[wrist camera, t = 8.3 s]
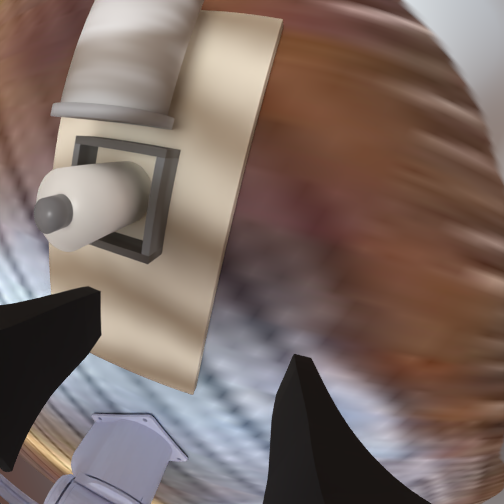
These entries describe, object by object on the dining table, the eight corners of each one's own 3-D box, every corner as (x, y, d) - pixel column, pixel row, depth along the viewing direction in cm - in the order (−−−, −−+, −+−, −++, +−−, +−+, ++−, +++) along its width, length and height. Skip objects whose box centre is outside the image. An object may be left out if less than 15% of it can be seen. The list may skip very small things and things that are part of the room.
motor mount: (196, 387, 22) (167, 454, 15) (62, 329, 23) (14, 371, 16) (283, 26, 14) (275, -44, 7) (98, 21, 14) (36, -10, 7)
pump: (114, 232, 18) (39, 270, 11) (93, 177, 17) (11, 195, 10) (162, 209, 17) (88, 242, 10) (138, 149, 16) (56, 153, 9)
